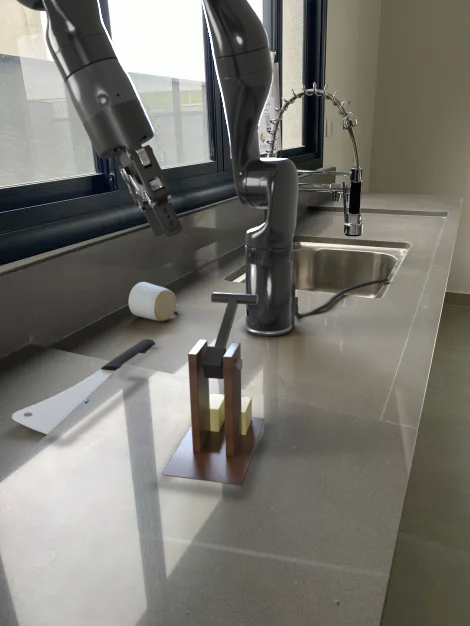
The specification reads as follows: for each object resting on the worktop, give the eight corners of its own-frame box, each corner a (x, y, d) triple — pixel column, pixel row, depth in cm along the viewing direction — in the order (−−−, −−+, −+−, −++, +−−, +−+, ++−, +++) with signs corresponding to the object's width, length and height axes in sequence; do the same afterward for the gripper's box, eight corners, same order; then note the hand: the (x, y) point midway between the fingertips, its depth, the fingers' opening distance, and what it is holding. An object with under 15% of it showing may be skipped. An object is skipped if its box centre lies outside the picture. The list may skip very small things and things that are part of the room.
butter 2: (234, 417, 66) (233, 395, 65) (251, 418, 65) (251, 397, 64) (226, 433, 62) (226, 410, 61) (245, 435, 62) (245, 412, 61)
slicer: (199, 419, 68) (195, 324, 63) (264, 426, 66) (264, 329, 61) (162, 484, 55) (154, 370, 50) (242, 495, 53) (240, 378, 48)
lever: (214, 300, 66) (212, 287, 65) (258, 303, 65) (257, 289, 63) (188, 376, 57) (185, 362, 55) (239, 381, 56) (237, 367, 54)
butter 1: (209, 414, 67) (208, 393, 66) (226, 416, 66) (226, 394, 65) (200, 430, 63) (199, 407, 62) (219, 432, 62) (218, 409, 61)
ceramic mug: (157, 326, 103) (155, 290, 101) (128, 319, 108) (126, 285, 105) (188, 313, 112) (187, 280, 110) (161, 307, 116) (159, 275, 114)
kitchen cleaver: (65, 435, 63) (5, 413, 66) (66, 447, 63) (6, 424, 67) (184, 348, 90) (137, 335, 93) (183, 356, 90) (137, 343, 94)
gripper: (147, 82, 54) (208, 221, 58) (132, 111, 67) (182, 222, 72) (82, 107, 52) (150, 248, 57) (80, 132, 66) (135, 245, 70)
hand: (168, 234), depth 64 cm, fingers open, 8 cm apart
